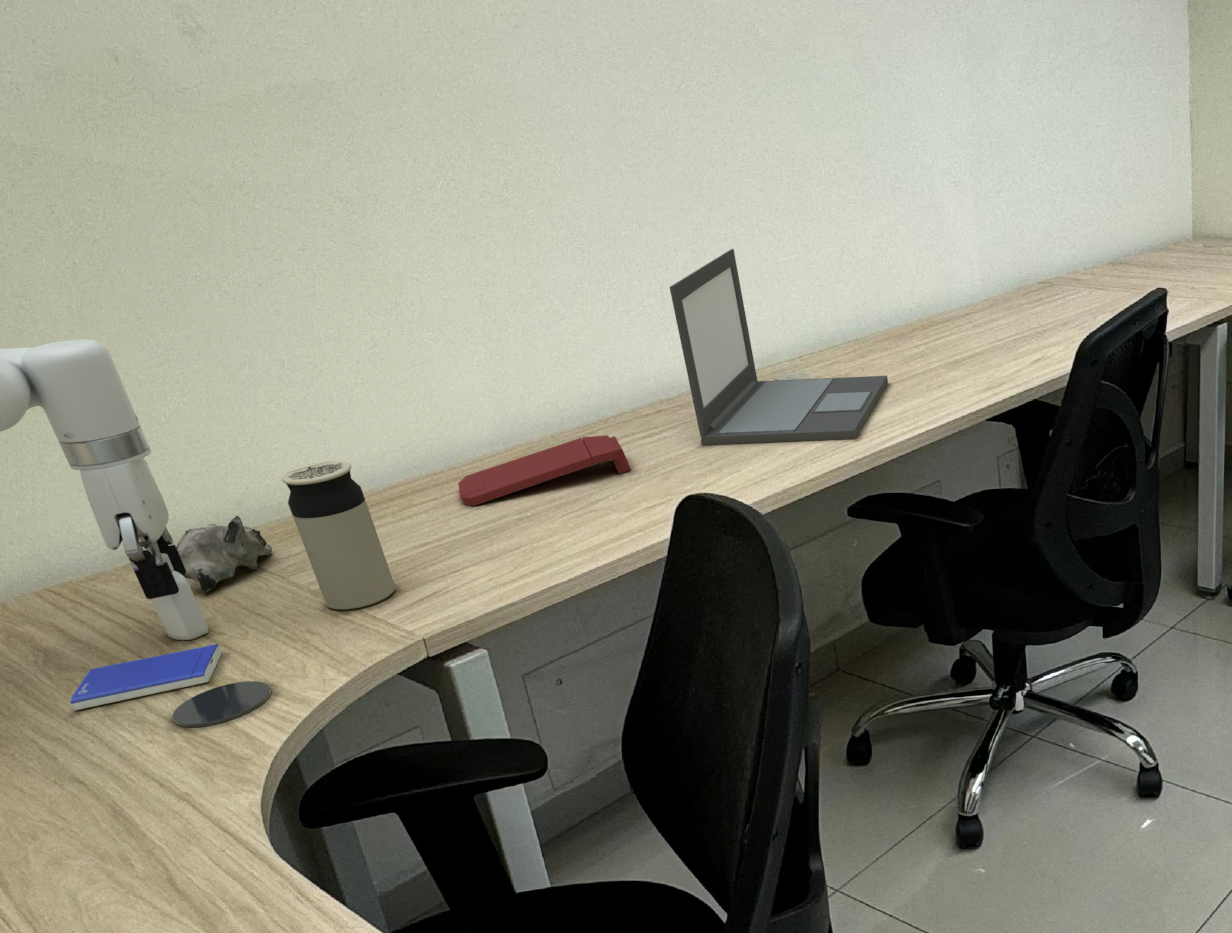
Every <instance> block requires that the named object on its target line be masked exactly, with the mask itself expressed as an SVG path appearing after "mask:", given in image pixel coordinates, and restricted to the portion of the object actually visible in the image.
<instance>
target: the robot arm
mask: <svg viewBox="0 0 1232 933" xmlns="http://www.w3.org/2000/svg"><path fill="white" fill-rule="evenodd" d="M120 376H121V375H120V374H119V372H118V369H117V367H116V364H115V362H114V360H113V357H112V355H111V353H110V351H109V350H108V348H107V347H106V346H105V345H104V343H101V342H100V341H97V340H95V339H87V338H79V339H67V340H59V341H53V342H49V343H44V344H41V345H37V346H31V347H30V346H29V347H13V348H11V347H10V348H0V432H4V431H7V430H9V429H11V428H13V427H15V426H16V425H17V424H18V423H19V422H20V421H21V420H22V419H23V418H24V416H25V415H26V413H27V411H28V410H30V409H31V408H35V407H40V408H42V409H43V411H44V413H45V415H46V418H47V419H48V422H49V423H50V426H51V429H52V430H53V432H54V435H55V437H56V439H57V441H58V444H59V446H60V448H61V450H62V452H63V454H64V456H65V459H66V461H67V463H68V464H69V467H70V469H72V470H74V471H79V473H80V478H81V481H82V485H83V488H84V490H85V495H86V497H87V500H88V503H89V505H90V508H91V511H92V513H93V515H94V518H95V521H96V523H97V526H98V528H99V530H100V533H101V536H102V539H103V541H104V544H105V546H106V547H107V549H110V550H111V551H117V550H118V549H119V547H121V544H123V550H124V553H125V555H126V556H127V557H128V560H129V562H130V565H131V567H132V570H133V572H134V574H135V577H136V578H137V581H138V583H139V586H140V587H141V590H142V592H143V594H144V597H145V598H146V599H148V600H151V599H153V598H158V597H163V596H168V595H172V594H177V593H178V591H179V588H178V586H177V583H176V581H175V579H174V576H173V574H172V572H171V570H170V567H169V565H168V563H167V562H165V563H163V559H162V556H161V553H164V554H167V555H168V557H169V560H170V562H171V564H172V566H173V570H174V571H176V572H178V573H180V574H182V575H185V574H186V569H185V567H184V564H183V562H182V560H181V557H180V555H179V553H178V550H177V548H176V547H177V545H176V544H174V540H173V538H172V537H173V536H171V533H170V532H169V530H168V528H167V524H168V522H169V519H170V518H169V512H168V508H167V505H166V502H165V500H164V497H163V495H162V493H161V491H160V488H159V486H158V484H157V482H156V479H155V477H154V475H153V473H152V470H151V469H150V467H149V465H148V462H147V460H146V458H145V457H148V456H150V454H151V453H152V450H151V447H150V444H149V442H148V440H147V437H146V435H145V433H144V430H143V428H142V426H141V424H140V421H139V418H138V416H137V413H136V412H135V409H134V407H133V405H132V403H131V400H130V398H129V395H128V392H127V391H126V388H125V386H124V383H123V381H122V379H121V377H120ZM147 547H150V549H151V552H152V554H151V552H149V551H148V550H147Z"/></svg>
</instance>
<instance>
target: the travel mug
mask: <svg viewBox="0 0 1232 933" xmlns="http://www.w3.org/2000/svg"><path fill="white" fill-rule="evenodd" d="M351 470H352V465H351V464H350V463H349V462H347V461H343V460H328V461H321V462H315V463H310V464H306V465H303V466H298V467H296V468H294V469H291V470H289V471H287V472H285V473H284V474H283V475H282V477H281V481H282V483H283V484H285V485H286V486H287V488H288V489H289V491H290V493H289V497H288V500H287V505H288V507H289V510H290V512H291V515H292V518H293V520H294V523H295V525H296V528H297V531H298V534H299V536H300V540H301V541H302V544H303V547H304V550H305V552H306V555H307V558H308V560H309V563H310V565H311V568H312V571H313V574H314V576H315V579H316V581H317V583H318V587H319V589H320V592H321V594H322V598H323V600H324V602H325V605H326V607H328V608H330V609H333V610H346V611H347V610H349V611H350V610H357V609H362V608H365V607H368V606H373V605H374V604H377V603H379V602H381V601H383V600H385V599H387V598H388V597H390V595H392V594H393V593H394V592H395V590H396V585H395V581H394V579H393V577H392V572H391V570H390V568H389V564H388V561H387V559H386V556H385V553H384V550H383V548H382V544H381V542H380V538H379V536H378V533H377V530H376V526H375V524H374V522H373V519H372V515H371V512H370V509H369V507H368V503H367V500H366V498H365V495H364V492H363V489H362V487H361V486H360V485H359V484H358V483H357V482H356V481H355V480H354V479H353V478H352V475H351Z"/></svg>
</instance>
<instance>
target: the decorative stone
mask: <svg viewBox="0 0 1232 933" xmlns="http://www.w3.org/2000/svg"><path fill="white" fill-rule="evenodd" d="M176 548H177V550H178V553H179V555H180V557H181V560H182V562H183V564H184V567H185V569H186V574H185V575H183V576H184V577H185V578H186V580H187V579H188V580H193V581H194V582H195V583H196V585H197V586H198V589H199V590H200V591H203V592H205V593H208V592H210V591H211V590H212V589H214V588H215V587H216V586H217V584H218V582H220V581H222V580H225V579H232V578H233V577H234V576H235V574H236V572H235V571H236V568H237V567H239V566H243V567H246V568H248V569H250V570H252V571H253V570H258V569H259V565H258V563H257V562H258V561H257V560H258V558H259V557H268V556H269V554H271V553H272V552H273V548H272V545H271V544H267V541H266V539H265V538H264V537H263V536H262V534H261V531H260V530H257V529H255V528H252V527H250V526H246V525H244V524H243V520H242V519H241V517H240V516H239V515H236V516H235V517H233V518H232V519H231V520H230V522H228V525H227V526H225V525H217V524H215V523H209V524H207V525H206V526H205V527H196V528H189V529H187V530H186V531H185V532H184V534H183V535H182V537H181V539H180V540H179V541H178V543H177V545H176Z"/></svg>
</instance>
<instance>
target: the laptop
mask: <svg viewBox="0 0 1232 933" xmlns="http://www.w3.org/2000/svg"><path fill="white" fill-rule="evenodd" d="M669 292H670V296H671V302H672V306H673V310H674V315H675V320H676V325H677V330H678V336H679V339H680V344H681V349H682V354H683V359H684V364H685V369H686V374H687V378H688V383H689V388H690V394H691V398H692V403H693V408H694V412H695V416H696V417H695V418H696V422H697V428H698V432H699V435H700V444H701V446H716V445H740V444H759V443H760V444H762V443H765V444H766V443H784V442H786V443H787V442H808V441H829V440H834V441H835V440H853V439H854V440H855V439H857V438H858V436H859V434H860V432H861V430H862V429H863V427H864V426H865V424H866V422H867V420H868V419H869V417H870V415H871V414H872V412H873V410H874V409H875V407H876V405H877V403H878V401H879V400H880V398H881V396H882V395H883V394H884V391H885V390H886V388H887V386H888V384H889V379H888V375H872V376H871V375H870V376H869V375H868V376H849V377H848V376H846V377H826V378H823V377H822V378H821V377H820V378H801V379H800V378H799V379H779V380H778V379H777V380H758V377H757V376H758V375H757V371H756V364H755V359H754V354H753V349H752V342H751V337H750V332H749V327H748V321H747V315H746V310H745V304H744V299H743V298H744V297H743V293H742V287H741V282H740V276H739V271H738V266H737V260H736V254H735V249H734V248H731V249H729V250H727V251H726V252H724V253H722V254H721V255H719V256H717V257H716V258H714V259H713V260H711V261H709V262H708V263H706V264H704V265H703V266H701V267H700V268H697V269H696V270H695V271H693V272H691V273H690V274H688V275H686V276H685V277H683V278H681V279H680V280H679V281H677V282H675V283H673V284H672V285H670V286H669Z"/></svg>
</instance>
